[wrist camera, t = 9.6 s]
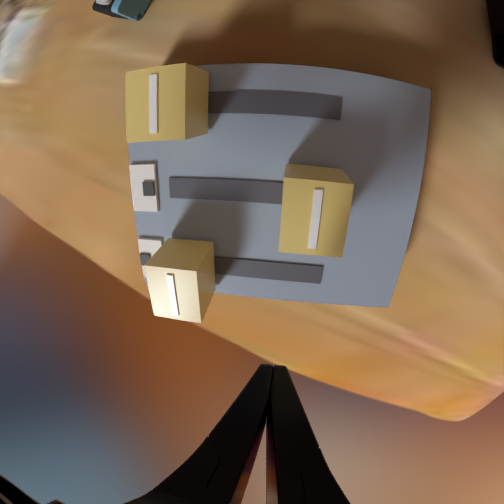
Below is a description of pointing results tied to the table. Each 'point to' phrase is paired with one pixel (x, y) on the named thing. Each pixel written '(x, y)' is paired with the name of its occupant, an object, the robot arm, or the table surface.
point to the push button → (122, 8)
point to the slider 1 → (166, 103)
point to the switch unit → (272, 175)
